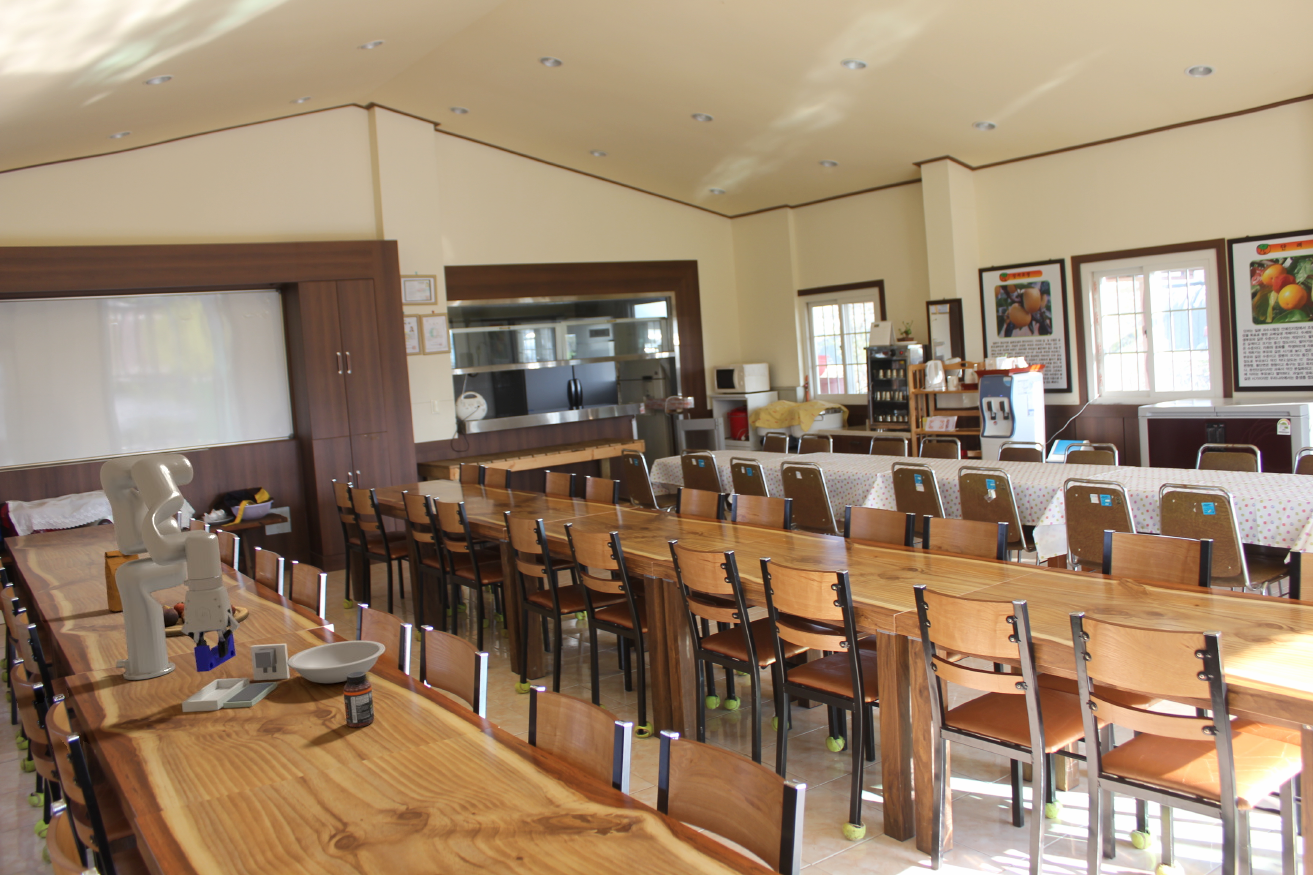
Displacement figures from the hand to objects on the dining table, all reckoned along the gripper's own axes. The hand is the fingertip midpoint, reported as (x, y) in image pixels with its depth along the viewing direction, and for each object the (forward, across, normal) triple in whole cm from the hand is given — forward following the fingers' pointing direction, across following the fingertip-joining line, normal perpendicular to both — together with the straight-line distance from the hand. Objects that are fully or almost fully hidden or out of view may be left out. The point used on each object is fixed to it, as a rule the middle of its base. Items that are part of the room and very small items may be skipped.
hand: (213, 655), depth 234 cm
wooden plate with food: (+11, -46, +79) cm, 92 cm away
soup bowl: (+11, +26, +11) cm, 31 cm away
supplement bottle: (+11, +43, -22) cm, 50 cm away
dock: (+11, 0, 0) cm, 11 cm away
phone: (+11, +8, 0) cm, 14 cm away
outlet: (+11, +7, +13) cm, 18 cm away
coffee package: (+10, -86, +106) cm, 137 cm away
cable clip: (+2, 0, 0) cm, 2 cm away
